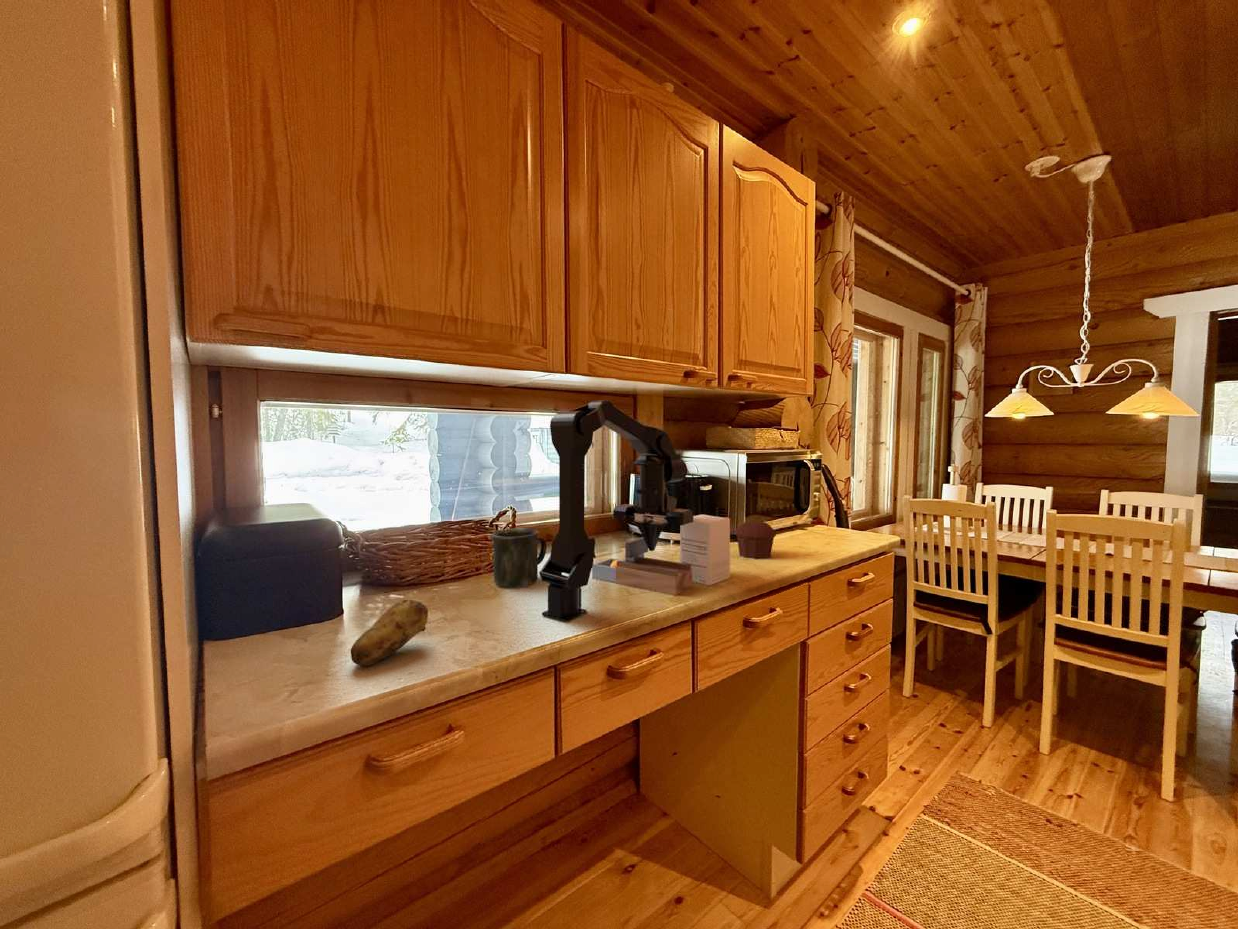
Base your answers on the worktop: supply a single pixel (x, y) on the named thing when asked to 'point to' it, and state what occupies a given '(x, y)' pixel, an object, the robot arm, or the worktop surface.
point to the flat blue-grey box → (604, 570)
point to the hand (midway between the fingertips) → (651, 550)
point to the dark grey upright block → (635, 550)
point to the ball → (614, 564)
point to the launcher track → (655, 575)
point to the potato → (390, 632)
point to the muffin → (755, 539)
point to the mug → (516, 556)
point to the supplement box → (706, 548)
